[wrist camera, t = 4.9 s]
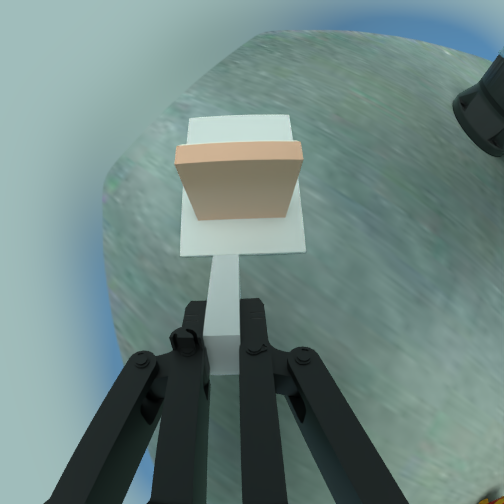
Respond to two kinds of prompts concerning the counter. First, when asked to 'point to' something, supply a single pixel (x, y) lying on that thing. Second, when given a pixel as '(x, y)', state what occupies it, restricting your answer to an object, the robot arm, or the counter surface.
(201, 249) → the white rectangular board
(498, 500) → the potion bottle
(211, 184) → the terracotta tile
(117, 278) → the counter surface
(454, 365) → the counter surface
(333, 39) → the counter surface
